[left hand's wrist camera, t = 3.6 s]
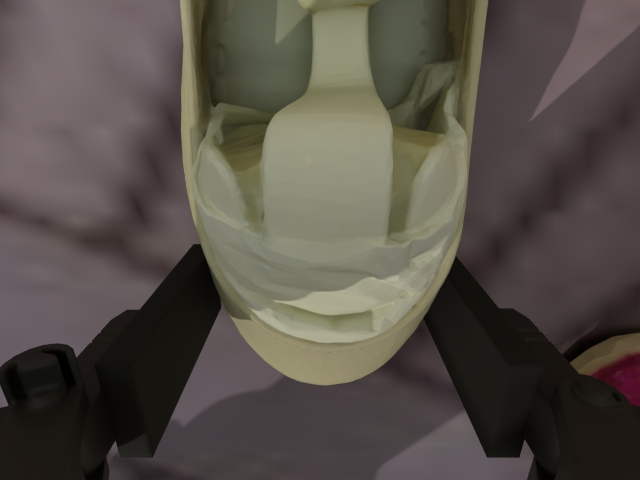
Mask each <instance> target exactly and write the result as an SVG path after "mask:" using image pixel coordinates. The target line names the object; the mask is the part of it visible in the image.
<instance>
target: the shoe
mask: <svg viewBox="0 0 640 480" xmlns="http://www.w3.org/2000/svg"><path fill="white" fill-rule="evenodd" d="M570 364H571V365H572V366H573V367H574V368H575V369H576V371H577V372H578V373H579V374H585V375H588V376H591V377H594V378H597V379H600V380H602V381H604V382H606V383H608V384H610V385H611V386H613V387H615V388H616V389H617V390H618V391H620V392H621V393H622V394H623V395H625V397H626V398H627V400H628V401H629V402H630V404H632V405H636V406H640V333H634V334H627V335H620V336H614V337H611V338H609V339H607V340H605V341H603V342H601V343H599V344H597V345H595V346H593V347H591V348H589V349H588V350H586V351H585V352H584V353H582V354H581V355H580V356H578V357H577V358H576V359H574V360H573V361H572V362H570Z"/></svg>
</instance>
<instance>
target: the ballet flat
mask: <svg viewBox="0 0 640 480" xmlns="http://www.w3.org/2000/svg"><path fill="white" fill-rule="evenodd" d="M487 6H488V0H180V7H181V19H182V31H183V43H184V48H183V68H182V87H181V104H182V112H181V138H182V153H183V165H184V173H185V180H186V187H187V192H188V197H189V202H190V207H191V212H192V216H193V220H194V223H195V227H196V230H197V233H198V236H199V239H200V243H201V246H202V249H203V252H204V254H205V257H206V260H207V263H208V266H209V269H210V272H211V276H212V279H213V282H214V284H215V286H216V289H217V291H218V294H219V296H220V298H221V300H222V302H223V304H224V306H225V308H226V310H227V311H228V313H229V315H230V317H231V318H232V320H233V322H234V323H235V325H236V327H237V328H238V330H239V332H240V333H241V335H242V336H243V337H244V339H245V340H246V341H247V343H248V344H249V345H250V346H251V347H252V348H253V349H254V350H255V351H256V352H257V353H258V354H259V355H260V356H261V357H262V358H263V359H264V360H265V361H266V362H267V363H268V364H270V365H271V366H272V367H273V368H275V369H277V370H278V371H280V372H281V373H283V374H284V375H286V376H288V377H290V378H292V379H295V380H298V381H300V382H305V383H310V384H316V385H332V384H340V383H347V382H352V381H354V380H357V379H360V378H362V377H364V376H366V375H368V374H370V373H372V372H373V371H375V370H376V369H378V368H379V367H381V366H382V365H384V364H385V363H386V362H387V361H388V360H389V359H390V358H391V357H392V356H393V355H394V354H395V353H396V352H397V351H398V350H399V349H400V347H401V346H402V345H403V344H404V343H405V341H406V340H407V339H408V338H409V337H410V336H411V335H412V333H413V332H414V331H415V330H416V329H417V327H418V325H419V324H420V322H421V320H422V319H423V317H424V316H425V314H426V313H427V312H428V310H429V308H430V306H431V304H432V302H433V301H434V299H435V297H436V295H437V293H438V291H439V289H440V287H441V286H442V284H443V283H444V281H445V279H446V277H447V275H448V273H449V271H450V269H451V266H452V264H453V261H454V259H455V256H456V253H457V250H458V247H459V243H460V239H461V234H462V229H463V222H464V215H465V207H466V199H467V187H468V176H469V164H470V153H471V143H472V134H473V124H474V115H475V106H476V98H477V90H478V82H479V74H480V66H481V57H482V48H483V39H484V30H485V22H486V14H487Z"/></svg>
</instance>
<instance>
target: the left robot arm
mask: <svg viewBox="0 0 640 480" xmlns="http://www.w3.org/2000/svg"><path fill="white" fill-rule="evenodd" d="M220 309H221V301H220V296H219V294H218V291H217V289H216V286H215V284H214V282H213V279H212V276H211V272H210V269H209V266H208V263H207V260H206V257H205V254H204V252H203V249H202V246H201V244H193V246H192V247H191V248H190V249H189V251H188V252H187V253H186V254H185V255H184V257H183V258H182V259H181V260H180V261H179V263H178V264H177V265H176V266H175V267H174V269H173V270H172V271H171V272H170V274H169V275H168V276H167V277H166V278H165V280H164V281H163V282H162V283H161V284H160V286H159V287H158V288H157V289H156V291H155V292H154V293H153V294H152V295H151V297H150V298H149V299H148V300H147V301H146V303H145V304H144V305H143V306H142V308H141V309H140V310H126V311H125V312H123V313H121V314H120V315H118V316H116V317H115V318H113V319H112V320H111V321H110V322H109V323H108V324H107V325H106V326H105V327H104V328H103V329H102V330H101V333H99V334H98V335H97V336H96V337H95V338H94V339H93V340H92V343H90V344H89V345H88V346H87V347H86V348H85V349H84V350H83V351H82V352H81V353H80V355H79V356H78V357H77V358H76V356H75V353H74V350H73V348H71V347H70V346H68V345H65V344H58V343H57V344H48V345H42V346H39V347H35V348H32V349H29V350H27V351H25V352H23V353H20V354H18V355H16V356H14V357H13V358H11V359H10V360H9V361H7V362H6V363H4V364H3V365H2V366H1V367H0V385H1V388H2V390H3V393H4V395H5V397H6V400H7V402H8V405H9V406H6V407H2V408H0V480H108V479H109V466H108V461H107V458H106V455H107V454H108V452H109V450H110V449H111V447H112V445H113V443H114V442H115V440H116V444H117V447H118V451H119V454H120V458H130V457H153V455H154V453H155V451H156V449H157V447H158V444H159V442H160V440H161V438H162V436H163V433H164V431H165V429H166V427H167V425H168V423H169V420H170V418H171V416H172V414H173V412H174V409H175V407H176V405H177V403H178V401H179V398H180V396H181V394H182V392H183V390H184V387H185V385H186V383H187V381H188V379H189V377H190V374H191V372H192V370H193V368H194V366H195V363H196V361H197V359H198V357H199V355H200V352H201V350H202V348H203V346H204V344H205V341H206V339H207V337H208V335H209V333H210V331H211V328H212V326H213V324H214V322H215V320H216V317H217V315H218V313H219V311H220ZM423 318H424V320H425V322H426V325H427V327H428V329H429V331H430V333H431V335H432V338H433V340H434V342H435V344H436V346H437V349H438V351H439V353H440V355H441V357H442V360H443V362H444V364H445V366H446V368H447V371H448V373H449V375H450V377H451V379H452V381H453V384H454V386H455V388H456V390H457V392H458V395H459V397H460V399H461V401H462V403H463V406H464V408H465V410H466V412H467V414H468V417H469V419H470V421H471V423H472V425H473V427H474V430H475V432H476V434H477V436H478V438H479V441H480V443H481V445H482V447H483V449H484V452H485V454H486V456H487V457H520V453H521V450H522V446H523V442H524V439H525V440H526V442H527V444H528V445H529V447H530V449H531V451H532V452H533V454H534V458H533V461H532V465H531V468H530V471H529V475H528V478H527V480H640V406H636V405H632V404H630V402H629V401H628V400H627V398H626V397H625V395H623V394H622V393H621V392H620V391H618V390H617V389H616V388H615V387H613V386H611V385H610V384H608V383H606V382H604V381H602V380H600V379H597V378H594V377H591V376H588V375H585V374H579V373H578V372H577V371H576V369H575V368H574V367H573V366H572V365H571V364H570V363H569V362H568V361H567V360H566V359H565V357H564V356H563V355H562V354H561V353H560V352H559V351H558V350H557V349H556V348H555V347H554V345H553V344H552V343H551V342H548V339H547V338H546V337H545V336H544V335H543V334H542V332H539V329H538V328H537V327H536V326H535V325H534V324H533V323H532V322H531V320H530V319H529V318H527V317H526V316H524V315H522V314H521V313H519V312H517V311H516V310H514V309H499V308H498V307H497V305H496V304H495V303H494V302H493V301H492V299H491V298H490V297H489V296H488V295H487V293H486V292H485V291H484V290H483V288H482V287H481V286H480V285H479V284H478V282H477V281H476V280H475V279H474V278H473V276H472V275H471V274H470V273H469V271H468V270H467V269H466V268H465V267H464V265H463V264H462V263H461V262H460V261H459V259H458V258H457V257H456V256H455V259H454V261H453V264H452V266H451V269H450V271H449V273H448V275H447V277H446V279H445V281H444V283H443V284H442V286H441V287H440V289H439V291H438V293H437V295H436V297H435V299H434V301H433V302H432V304H431V306H430V308H429V310H428V312H427V313H426V314H425V316H424V317H423Z"/></svg>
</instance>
